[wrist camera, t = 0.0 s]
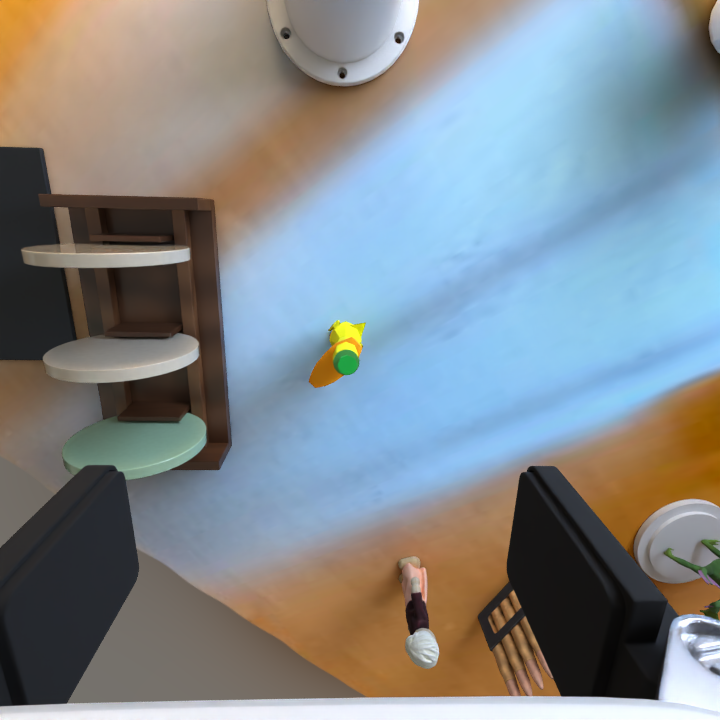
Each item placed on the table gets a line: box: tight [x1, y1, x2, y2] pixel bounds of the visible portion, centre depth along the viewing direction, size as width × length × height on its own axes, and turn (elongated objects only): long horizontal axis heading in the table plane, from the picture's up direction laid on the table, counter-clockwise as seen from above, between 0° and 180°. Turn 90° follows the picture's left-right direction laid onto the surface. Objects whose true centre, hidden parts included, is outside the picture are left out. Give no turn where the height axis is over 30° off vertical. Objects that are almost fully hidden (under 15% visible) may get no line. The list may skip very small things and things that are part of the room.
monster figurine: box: [634, 499, 720, 620], centre depth 52 cm, size 12×12×10 cm
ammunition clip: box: [478, 582, 553, 696], centre depth 53 cm, size 11×2×12 cm, turn 146°
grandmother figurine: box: [398, 557, 439, 669], centre depth 51 cm, size 8×4×13 cm, turn 11°
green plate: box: [62, 413, 207, 480], centre depth 42 cm, size 1×12×12 cm, turn 89°
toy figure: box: [309, 320, 365, 388], centre depth 42 cm, size 7×4×12 cm, turn 133°
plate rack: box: [38, 194, 232, 470], centre depth 44 cm, size 26×13×5 cm, turn 179°
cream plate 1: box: [21, 243, 191, 268], centre depth 37 cm, size 1×12×12 cm, turn 89°
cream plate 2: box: [43, 333, 200, 383], centre depth 39 cm, size 1×12×12 cm, turn 89°
